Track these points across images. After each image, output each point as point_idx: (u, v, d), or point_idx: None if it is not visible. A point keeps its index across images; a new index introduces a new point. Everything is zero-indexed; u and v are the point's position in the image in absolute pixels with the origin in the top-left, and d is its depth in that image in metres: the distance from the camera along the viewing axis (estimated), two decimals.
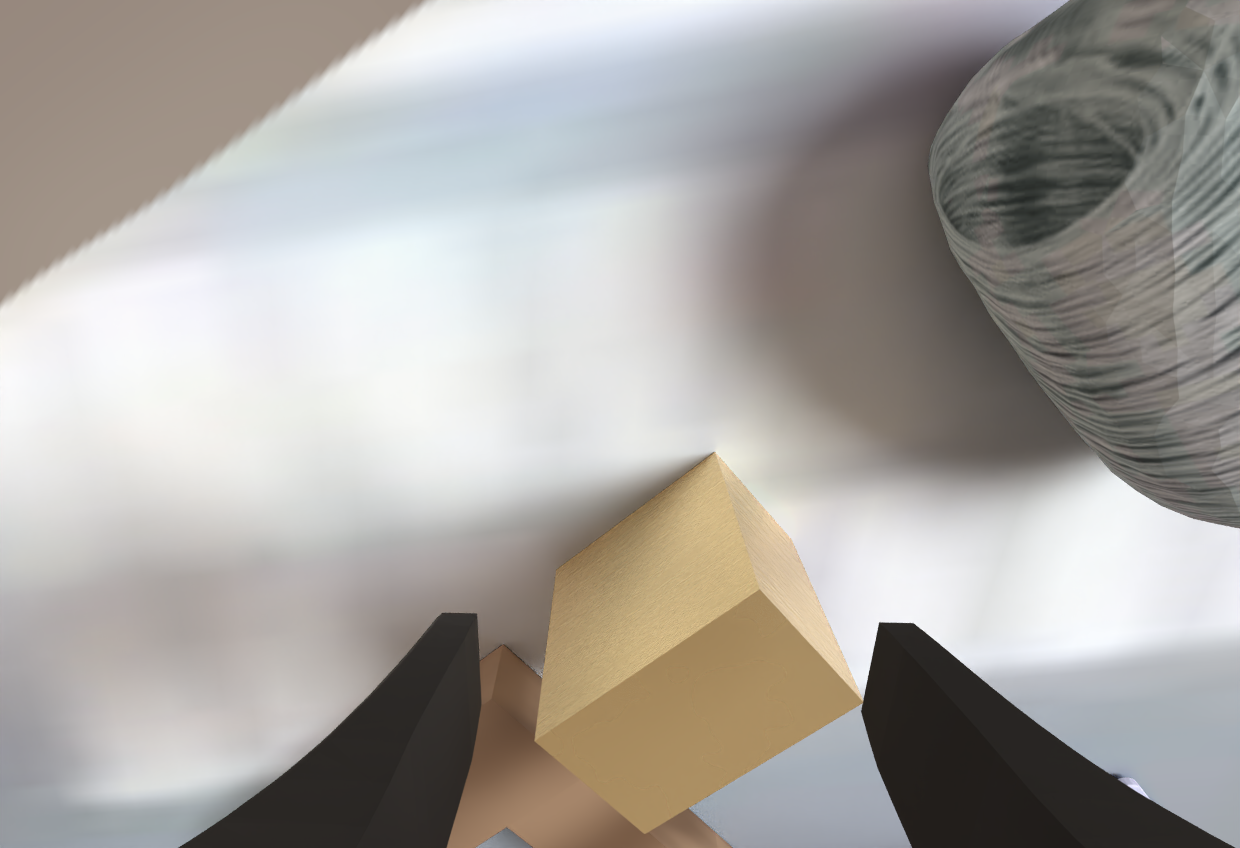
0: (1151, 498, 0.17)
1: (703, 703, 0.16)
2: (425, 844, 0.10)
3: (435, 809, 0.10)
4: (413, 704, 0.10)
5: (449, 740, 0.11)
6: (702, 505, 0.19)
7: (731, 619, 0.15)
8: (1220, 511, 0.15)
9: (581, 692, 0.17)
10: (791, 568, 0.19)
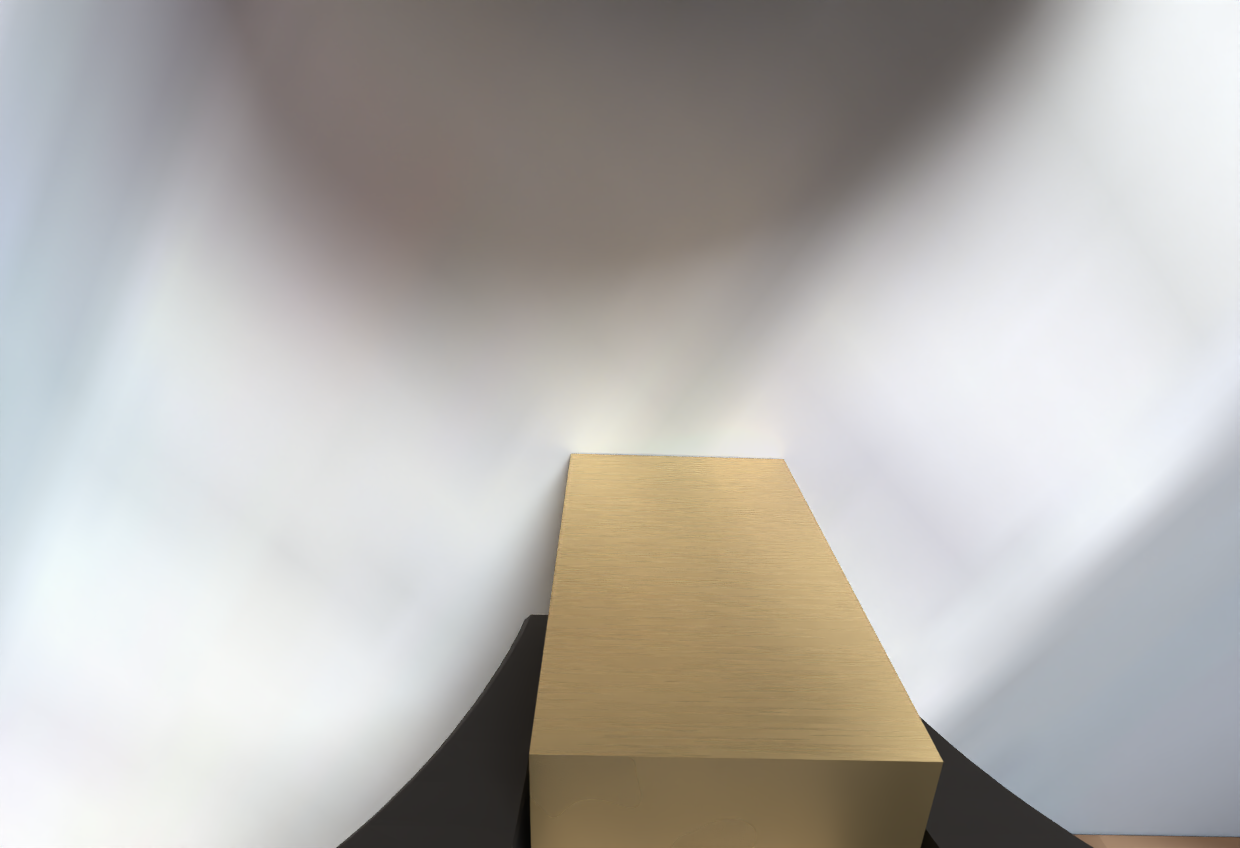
0: None
1: None
2: None
3: None
4: (526, 706, 0.10)
5: None
6: None
7: (555, 824, 0.07)
8: None
9: None
10: (745, 543, 0.10)
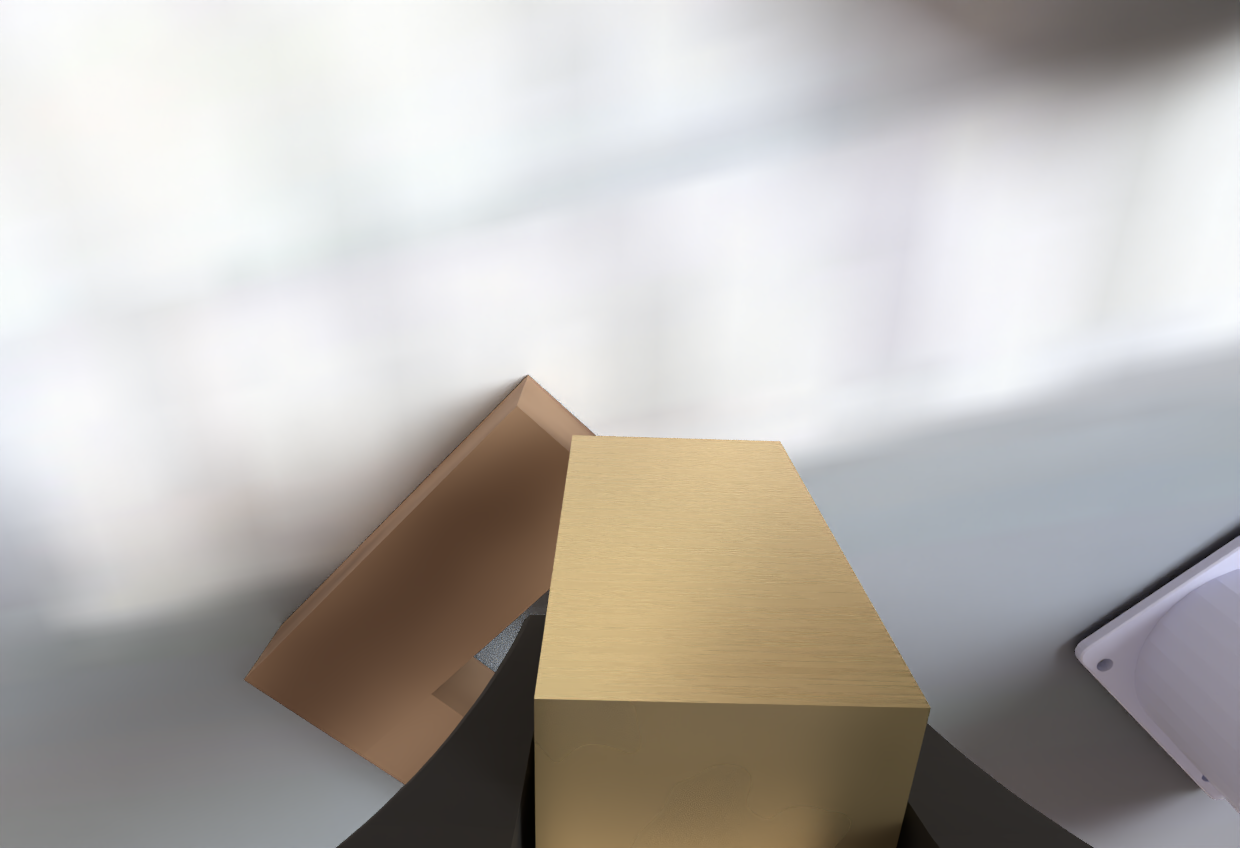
0: None
1: None
2: (535, 846, 0.10)
3: None
4: (526, 706, 0.10)
5: None
6: None
7: (557, 769, 0.07)
8: None
9: None
10: (742, 516, 0.11)
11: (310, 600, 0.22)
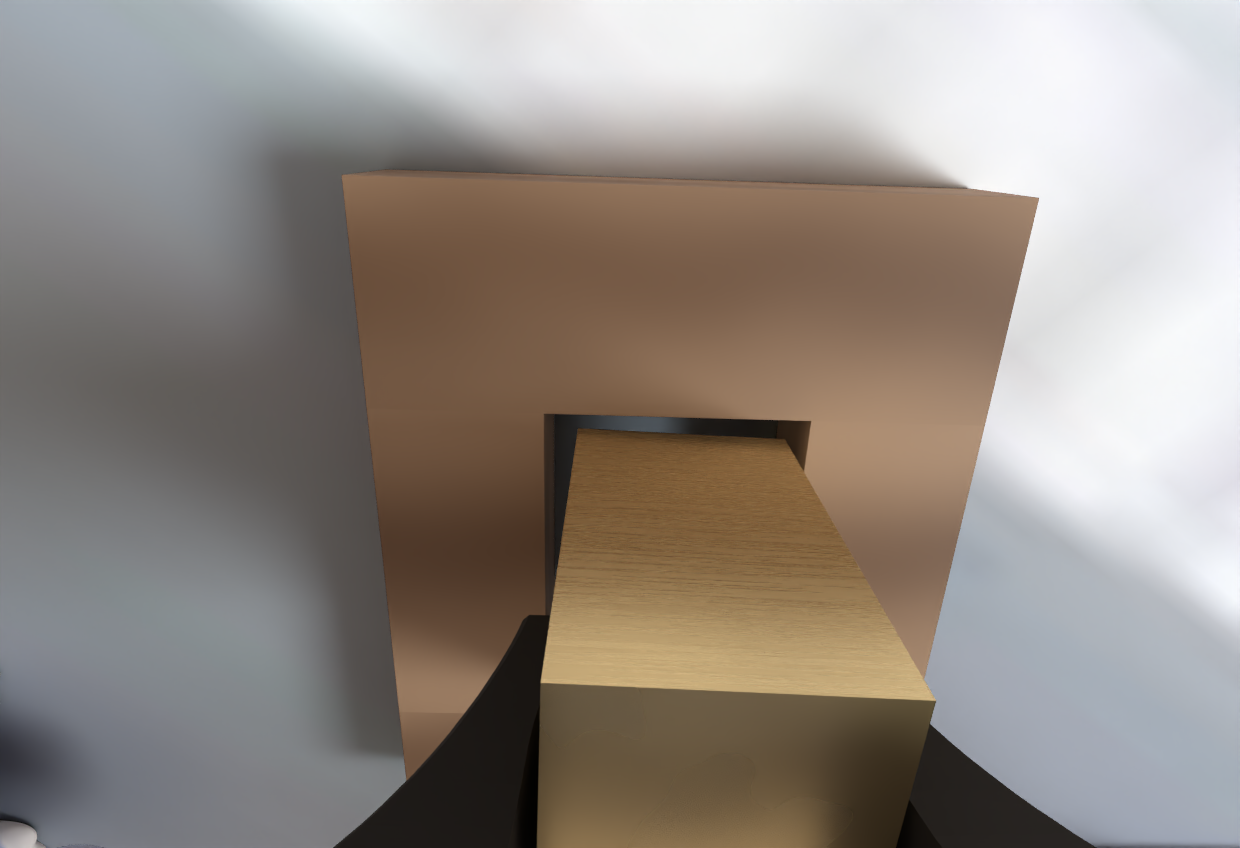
0: None
1: None
2: (533, 846, 0.10)
3: None
4: (524, 706, 0.10)
5: None
6: None
7: (561, 753, 0.07)
8: None
9: None
10: (748, 511, 0.11)
11: (486, 174, 0.14)
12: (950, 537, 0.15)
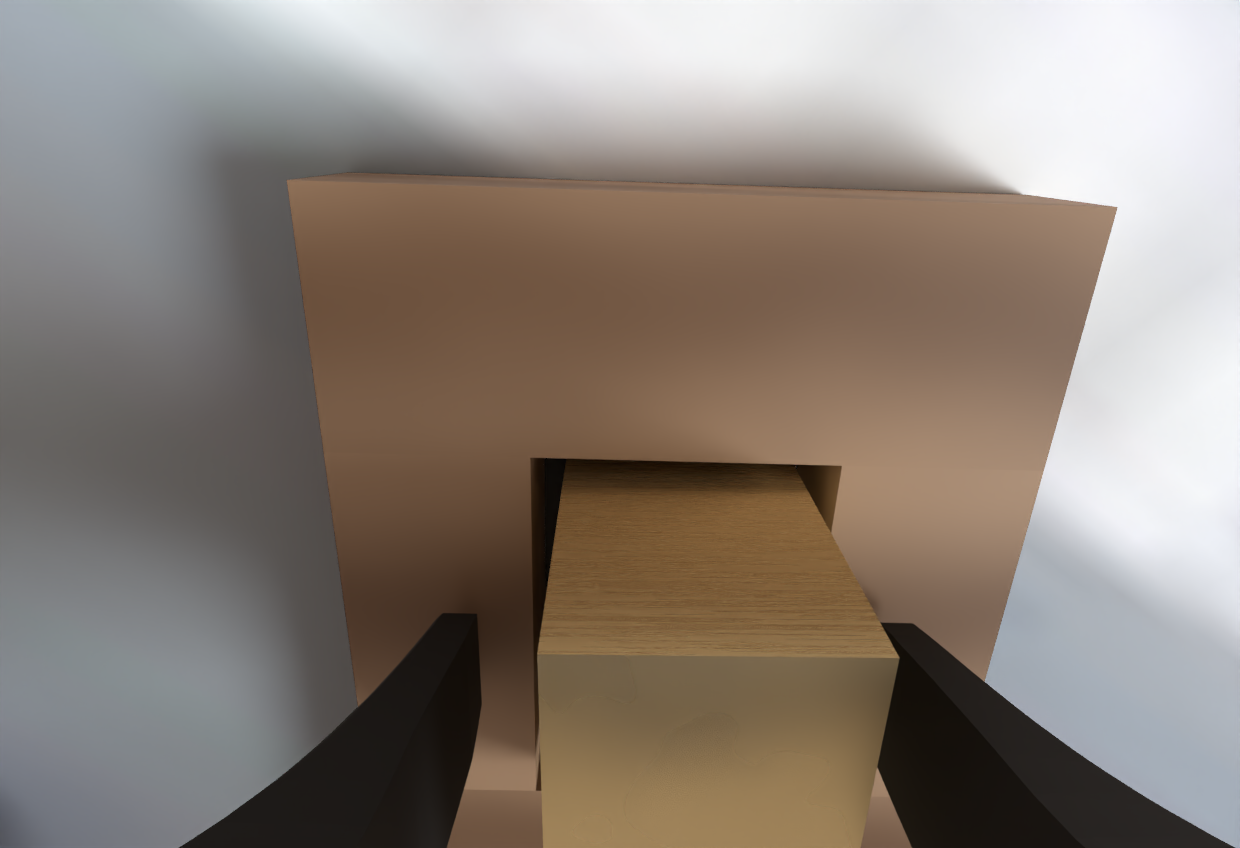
0: None
1: (675, 835, 0.09)
2: (425, 844, 0.10)
3: (435, 809, 0.10)
4: (413, 704, 0.10)
5: (449, 740, 0.11)
6: None
7: (559, 719, 0.08)
8: None
9: None
10: (732, 492, 0.11)
11: (463, 178, 0.12)
12: (999, 596, 0.13)
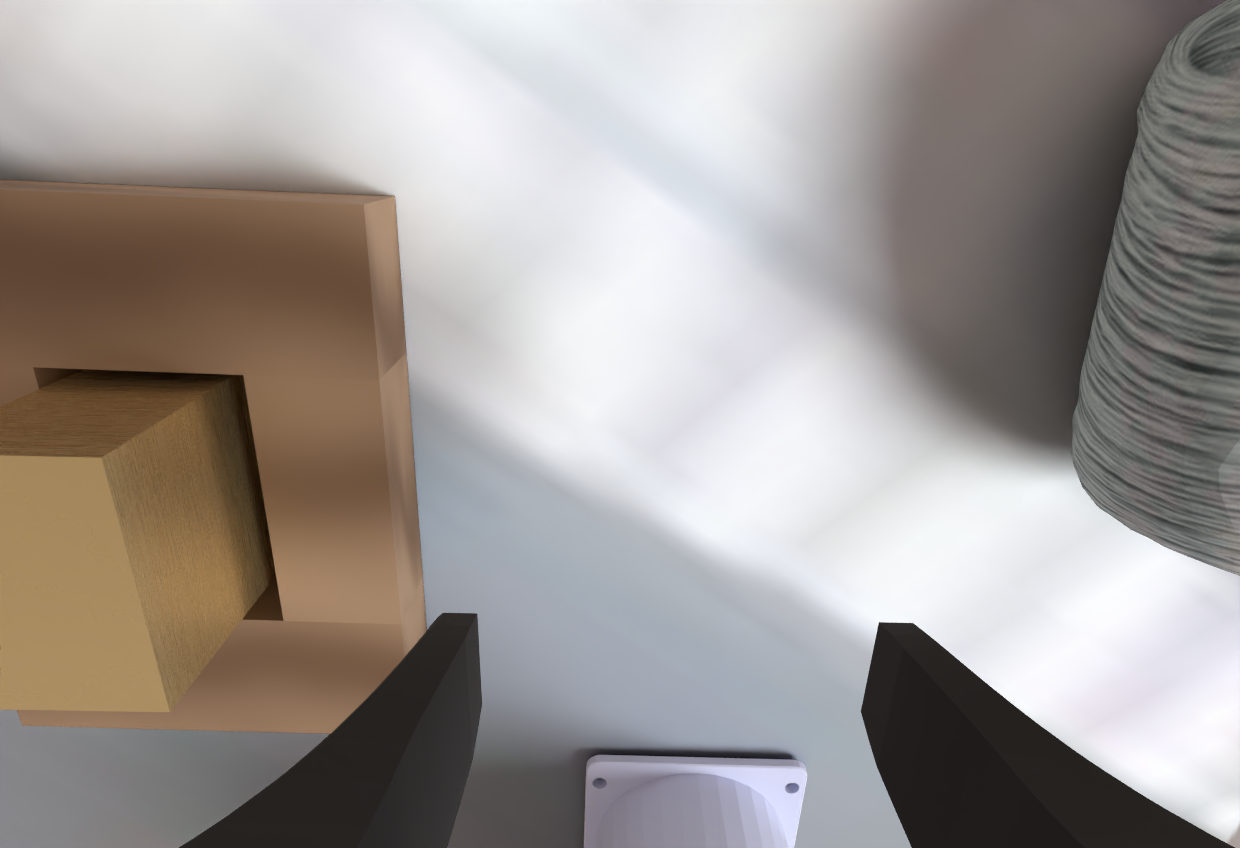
0: (1123, 444, 0.16)
1: (20, 575, 0.15)
2: (425, 844, 0.10)
3: (435, 809, 0.10)
4: (413, 704, 0.10)
5: (449, 740, 0.11)
6: None
7: None
8: (1197, 466, 0.15)
9: None
10: (157, 389, 0.17)
11: None
12: (381, 469, 0.19)
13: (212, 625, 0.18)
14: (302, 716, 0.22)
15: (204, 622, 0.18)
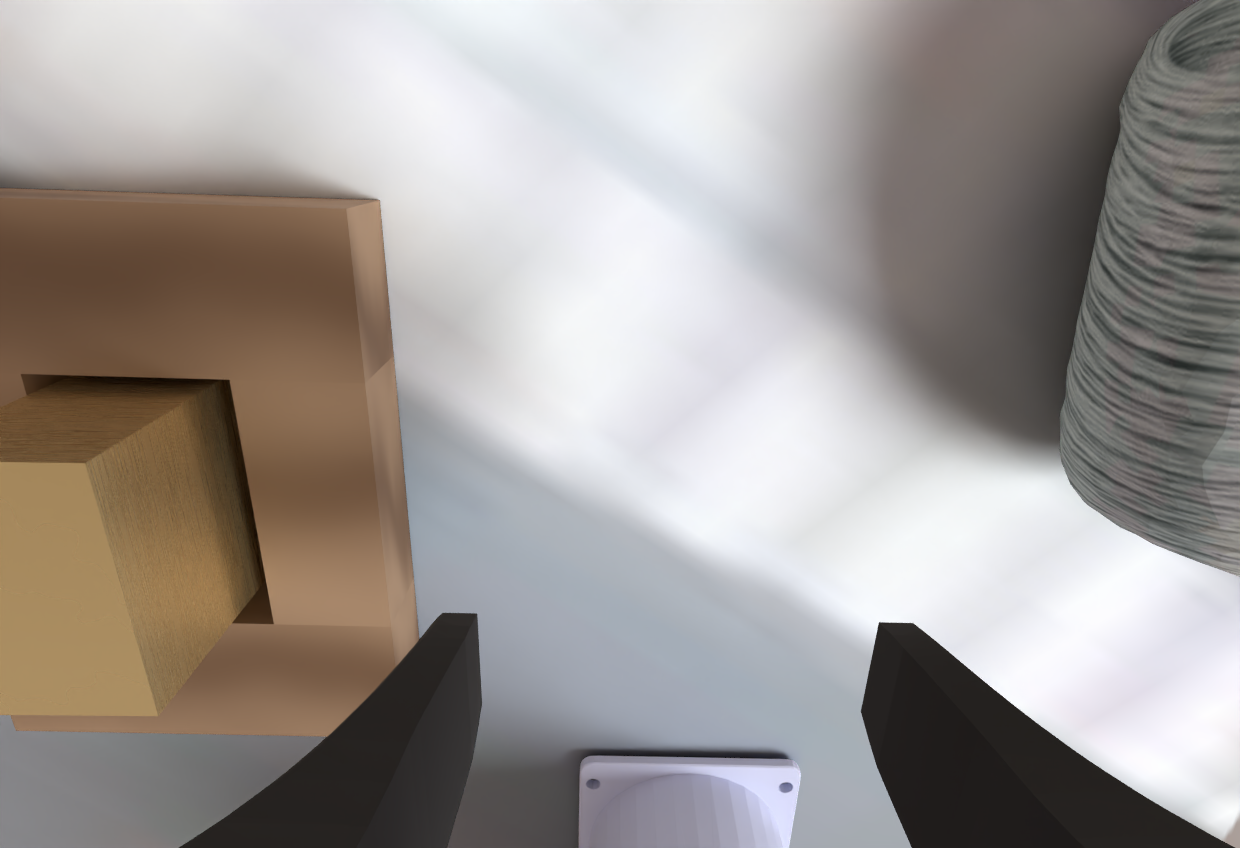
0: (1108, 441, 0.16)
1: (7, 581, 0.15)
2: (425, 844, 0.10)
3: (435, 809, 0.10)
4: (413, 704, 0.10)
5: (449, 740, 0.11)
6: None
7: None
8: (1181, 462, 0.15)
9: None
10: (144, 395, 0.18)
11: None
12: (368, 472, 0.19)
13: (201, 629, 0.18)
14: (294, 719, 0.22)
15: (193, 626, 0.18)
